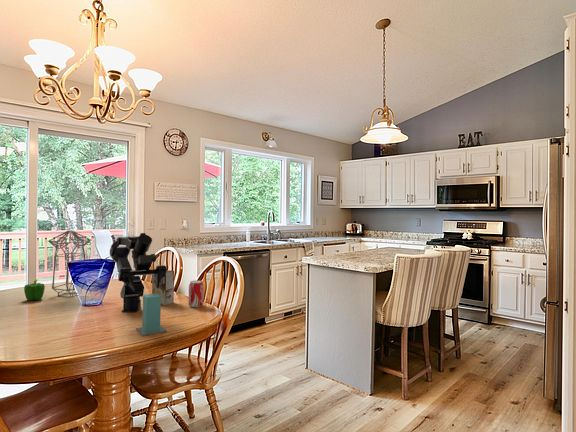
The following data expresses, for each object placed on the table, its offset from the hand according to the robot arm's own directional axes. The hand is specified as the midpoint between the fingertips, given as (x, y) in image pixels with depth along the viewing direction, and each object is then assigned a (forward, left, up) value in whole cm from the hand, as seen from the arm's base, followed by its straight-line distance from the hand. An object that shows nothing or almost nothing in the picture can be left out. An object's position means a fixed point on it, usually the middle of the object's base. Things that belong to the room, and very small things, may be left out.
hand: (146, 289), depth 145 cm
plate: (+6, -10, -14) cm, 18 cm away
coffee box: (-5, +32, -14) cm, 35 cm away
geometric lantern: (-59, +42, -14) cm, 74 cm away
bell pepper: (-70, +32, -14) cm, 78 cm away
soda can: (+13, +27, -14) cm, 33 cm away
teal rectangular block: (+6, -10, -13) cm, 17 cm away
